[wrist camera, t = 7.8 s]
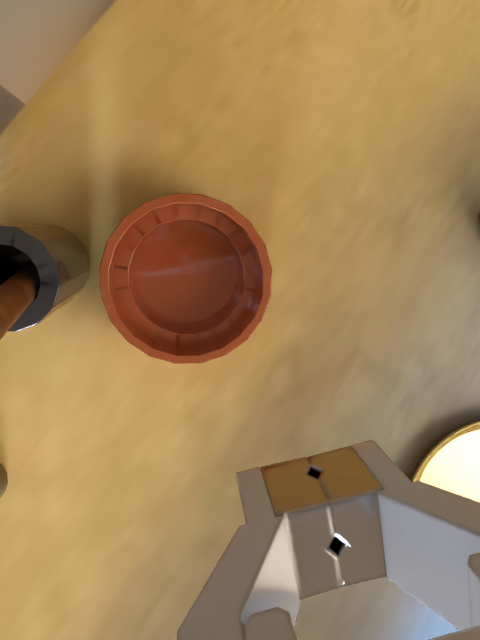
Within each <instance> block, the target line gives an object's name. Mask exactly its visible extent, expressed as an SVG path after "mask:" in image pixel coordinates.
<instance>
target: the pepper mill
mask: <svg viewBox="0 0 480 640" xmlns="http://www.w3.org/2000/svg"><path fill="white" fill-rule="evenodd" d="M7 483H8V481H7V473H6V471H5V469H4V467H3V465H2V464H1V463H0V497H1V496H2V495H3V493H4V492H5V490H6V487H7Z"/></svg>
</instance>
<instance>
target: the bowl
mask: <svg viewBox="0 0 480 640" xmlns="http://www.w3.org/2000/svg"><path fill="white" fill-rule="evenodd" d="M271 281H272V268H271V264H270V261H269V257H268V253H267V250H266V246H265V244H264V242H263V241H262V239H261V237H260V236H259V234H258V233H257V231H256V230H255V228H254V227H253V225H252V224H251V222H250V221H249V220H247V219H246V218H245V217H244V216H242V215H241V214H240V213H239V212H238V211H236V210H235V209H234V208H233V207H231V206H230V205H228V204H226V203H224V202H221V201H218V200H216V199H213V198H210V197H208V196H205V195H201V194H177V193H175V194H170V195H167V196H164V197H160V198H157V199H153V200H150V201H147V202H145V203H144V204H142V205H141V206H140V207H138V208H137V209H135V210H134V211H133V212H131V213H130V214H128V215H127V216H126V217H124V219H122V221H121V222H120V224H119V225H118V227H117V228H116V229H115V231H114V232H113V234H112V235H111V236H110V238H109V239H108V241H107V244H106V247H105V250H104V254H103V257H102V261H101V264H100V291H101V297H102V300H103V303H104V305H105V308H106V310H107V313H108V316H109V318H110V320H111V322H112V323H113V325H114V326H115V327H116V328H117V329H118V331H119V332H120V333H121V334H122V336H123V337H124V338H125V339H126V341H127V342H129V343H130V344H132V345H133V346H135V347H136V348H138V349H140V350H141V351H143V352H144V353H146V354H147V355H149V356H151V357H154V358H157V359H161V360H164V361H168V362H171V363H175V364H183V363H203V362H206V361H209V360H212V359H215V358H218V357H221V356H224V355H226V354H228V353H229V352H231V351H232V350H234V349H235V348H236V347H238V346H239V345H241V344H242V343H243V342H245V341H246V340H247V339H248V338H249V336H250V335H251V334H252V333H253V331H254V330H255V329H256V327H257V326H258V325H259V323H260V322H261V321H262V319H263V316H264V313H265V311H266V308H267V305H268V303H269V300H270V297H271Z"/></svg>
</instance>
